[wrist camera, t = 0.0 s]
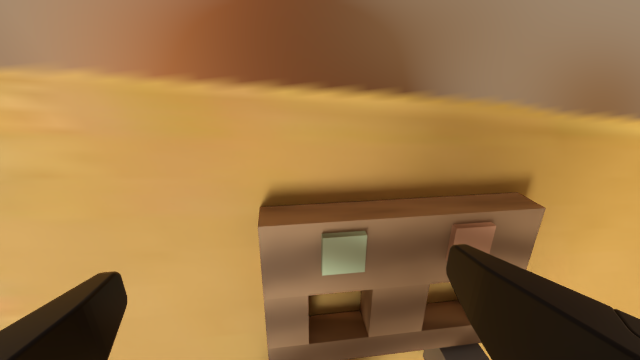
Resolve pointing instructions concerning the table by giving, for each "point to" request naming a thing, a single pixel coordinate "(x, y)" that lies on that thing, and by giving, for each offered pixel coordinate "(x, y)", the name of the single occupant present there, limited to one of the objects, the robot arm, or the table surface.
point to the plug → (456, 353)
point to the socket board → (380, 270)
